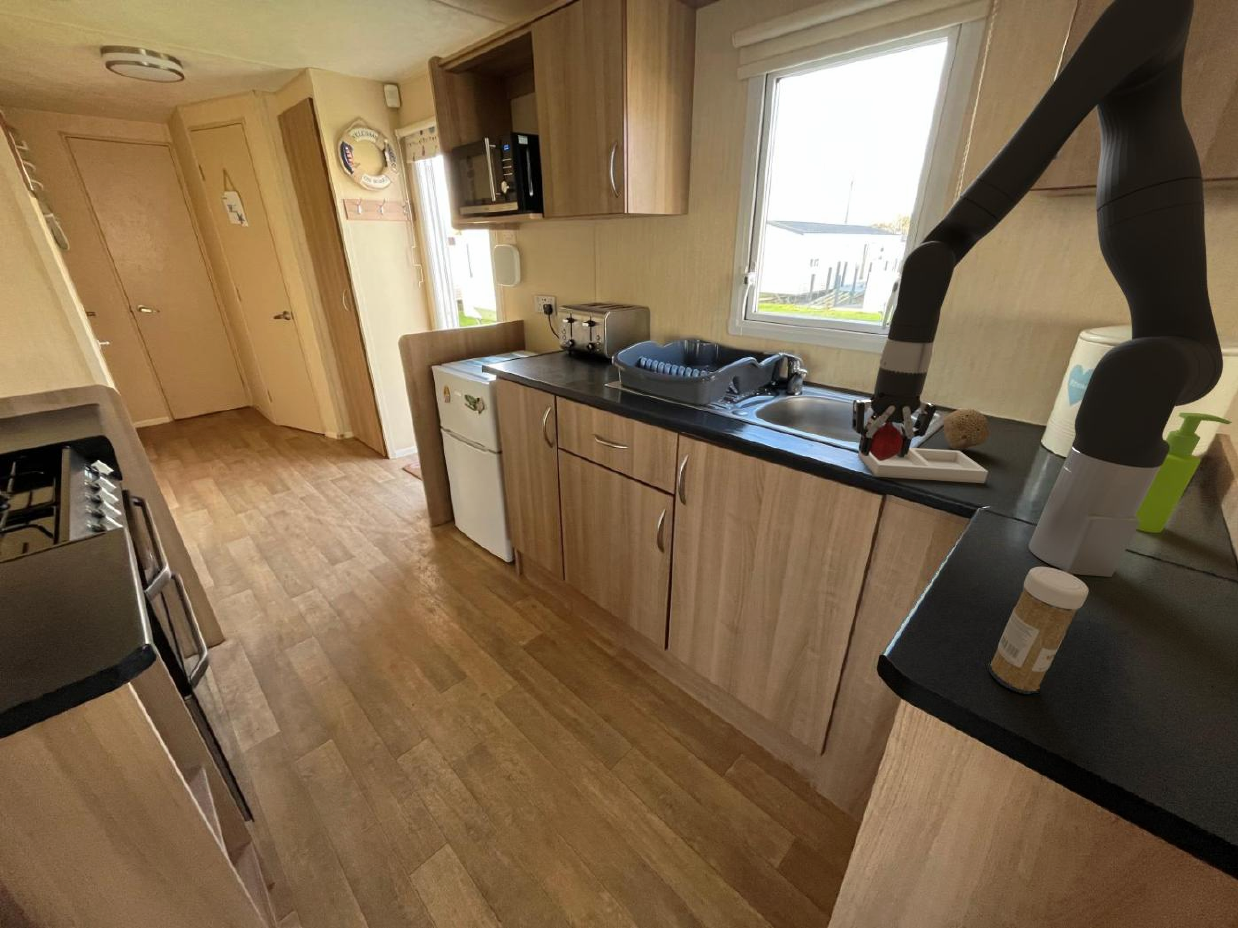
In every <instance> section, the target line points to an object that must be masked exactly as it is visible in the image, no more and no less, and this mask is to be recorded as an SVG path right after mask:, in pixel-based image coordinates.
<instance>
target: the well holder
mask: <svg viewBox="0 0 1238 928" xmlns="http://www.w3.org/2000/svg"><path fill="white" fill-rule="evenodd" d="M857 456H858V457H859V459H860V460H861V461H862V462H863V463H864V465H865V466H866V467H867V468H868V469H869V470H870V472H871V473H872V474H873V475H874V476H875V477H881V478H894V479H895V478H896V479H898V478H899V479H913V480H927V481H928V480H930V481H945V482H961V483H962V482H963V483H974V484H975V483H976V484H977V483H978V484H979V483H980V484H985V482H986V479H987V476H988V473H989V471H988V470H987V469H985V468H984V467H982V466H981V465H980V464H978V463H977V462H976V461H974V460H973V459H971V458H970V457H968V456H967V455H966V454H964V453H963V452H962V451H961V450H954V449H934V448H917V447H909V451H908V453H907V455H905V456H904V458H901V457H898V456H897V455H895V456H893V457H891V458H889V459H886V460H883V461H879V460H878V459H876V458H875V457H874V456H873V455H872V454H871V452H869V455H868V456H864V455H863V454H862V453H861V451H860V450H859V449H858V454H857Z"/></svg>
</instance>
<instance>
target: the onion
mask: <svg viewBox="0 0 1238 928" xmlns="http://www.w3.org/2000/svg"><path fill="white" fill-rule="evenodd" d="M893 423H894V422H890V423H884V424H883V425H882V426H881V427H880V428H878V429H877V430H876V432H875V433H874V434H873V436H872V438H873V439H872V444H871V448H870V452H871V454H872V455H873V456H874V457H875V458H876V459H878V460H879V461H883V460H886V459H889V458H891V457H893V456H895V455H896V454H897V453H898V452H900V450H901V448H902V444H903V438H902V433H901V431H899V430H900V429H898V428H897V427H895V426H894V424H893Z"/></svg>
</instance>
